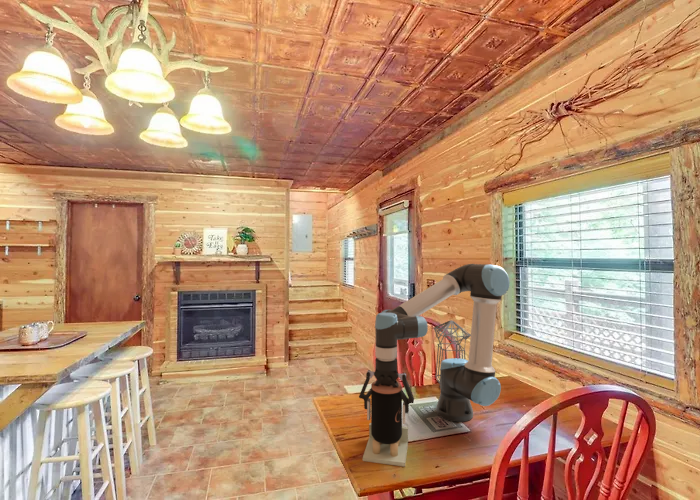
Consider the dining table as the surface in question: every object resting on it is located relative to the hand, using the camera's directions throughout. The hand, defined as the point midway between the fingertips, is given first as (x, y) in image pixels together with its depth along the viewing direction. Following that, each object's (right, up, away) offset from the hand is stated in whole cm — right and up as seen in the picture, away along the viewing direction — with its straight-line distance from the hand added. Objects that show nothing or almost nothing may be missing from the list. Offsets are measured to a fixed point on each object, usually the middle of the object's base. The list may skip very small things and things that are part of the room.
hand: (386, 420), depth 123 cm
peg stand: (0, -11, 0) cm, 11 cm away
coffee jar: (0, -6, 0) cm, 6 cm away
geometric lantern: (+38, -11, +54) cm, 67 cm away
